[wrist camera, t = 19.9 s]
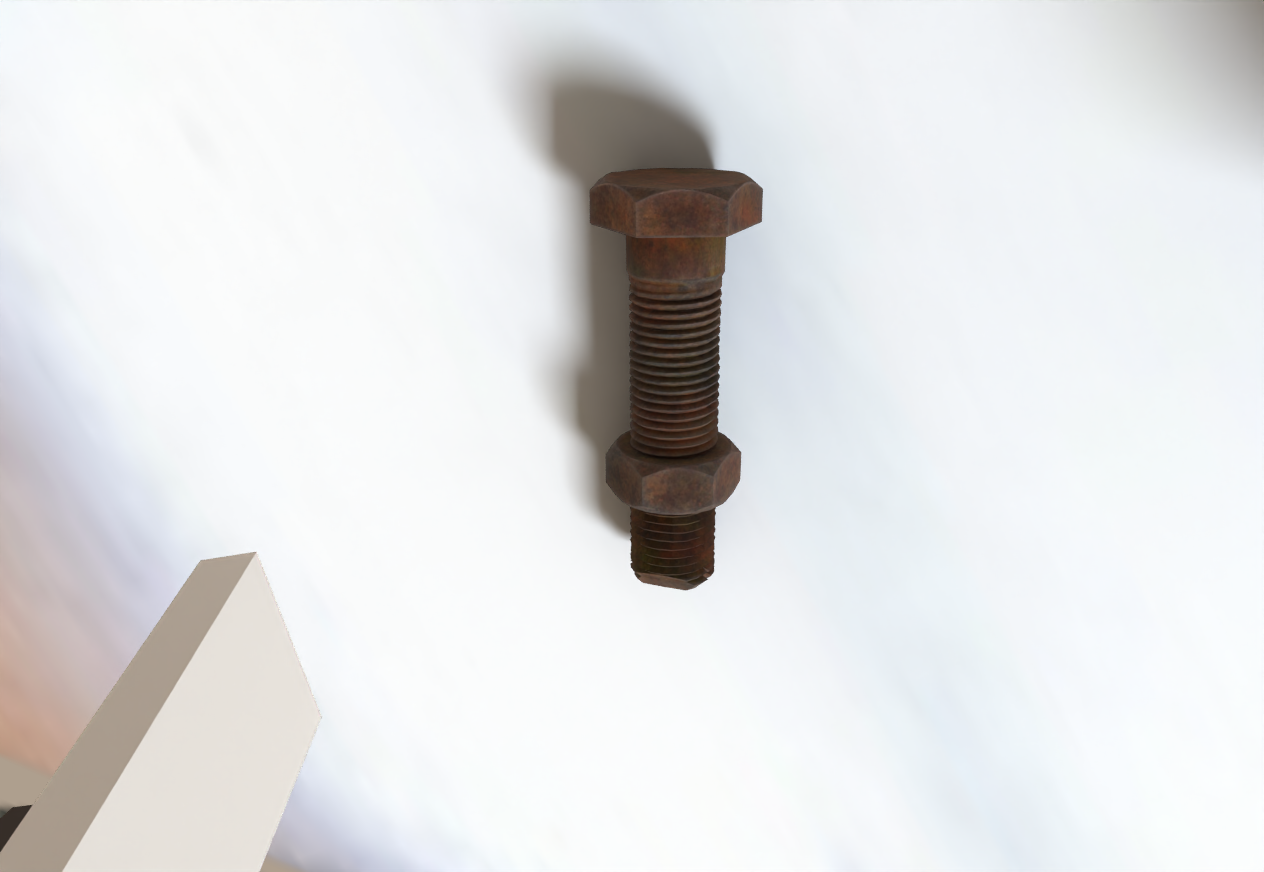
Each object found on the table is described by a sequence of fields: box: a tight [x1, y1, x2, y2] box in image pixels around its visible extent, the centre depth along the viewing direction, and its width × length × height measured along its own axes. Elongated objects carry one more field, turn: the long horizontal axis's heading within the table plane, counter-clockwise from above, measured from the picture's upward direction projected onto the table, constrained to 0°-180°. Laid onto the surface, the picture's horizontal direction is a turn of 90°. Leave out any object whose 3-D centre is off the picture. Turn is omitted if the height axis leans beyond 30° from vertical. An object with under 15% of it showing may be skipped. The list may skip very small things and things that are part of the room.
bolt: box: [590, 168, 763, 590], centre depth 39 cm, size 6×5×15 cm
